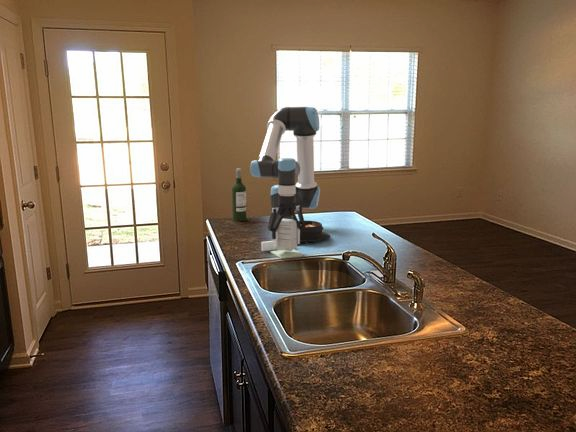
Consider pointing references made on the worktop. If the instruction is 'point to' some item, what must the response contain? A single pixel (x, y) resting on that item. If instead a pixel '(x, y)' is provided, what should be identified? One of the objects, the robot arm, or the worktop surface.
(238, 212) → the wine bottle
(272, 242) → the acrylic wall
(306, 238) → the casserole
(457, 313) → the worktop surface
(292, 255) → the sage mat
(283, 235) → the supplement box
